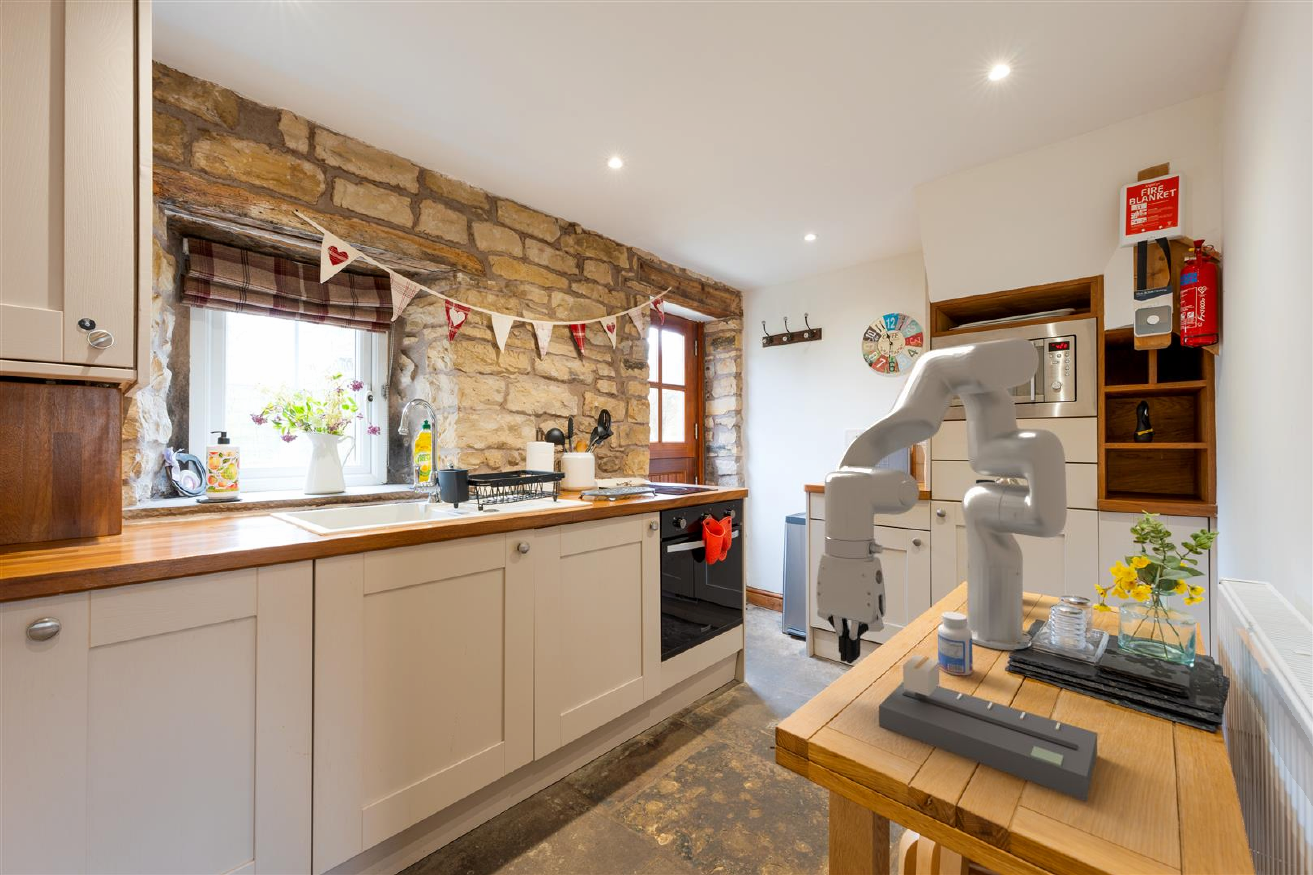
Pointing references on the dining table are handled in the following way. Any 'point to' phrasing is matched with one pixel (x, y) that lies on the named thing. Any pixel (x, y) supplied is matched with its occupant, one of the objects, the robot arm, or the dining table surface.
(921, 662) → the fader
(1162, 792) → the dining table surface
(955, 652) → the pill bottle
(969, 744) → the console
